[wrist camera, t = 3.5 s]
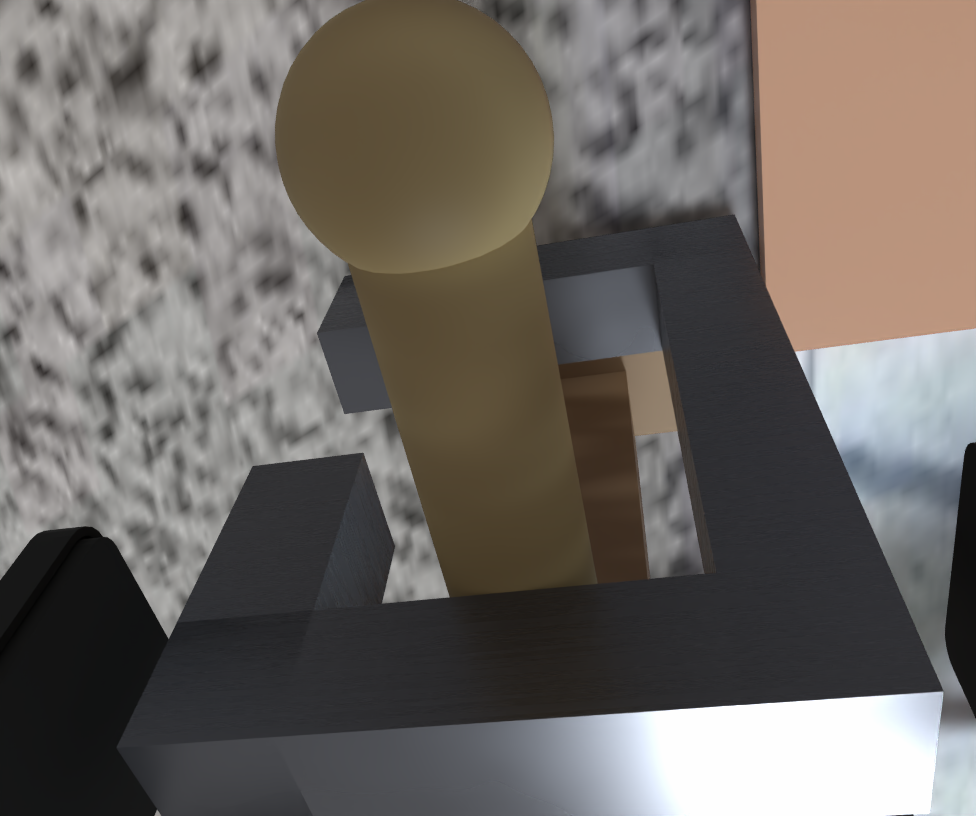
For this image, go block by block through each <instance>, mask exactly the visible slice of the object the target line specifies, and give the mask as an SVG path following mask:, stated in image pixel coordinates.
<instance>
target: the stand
mask: <svg viewBox="0 0 976 816" xmlns="http://www.w3.org/2000/svg"><path fill="white" fill-rule="evenodd" d="M275 145H276V153H277V160H278V166H279V169H280V173H281V177H282V181H283V184H284V186H285V189H286V191H287V194H288V196H289V199H290V201H291V203H292V204H293V206H294V208H295V210H296V212H297V214H298V215H299V216H300V218H301V219H302V221H303V222H304V223H305V225H306V226H307V228H308V229H309V230H310V231H311V232H312V233H313V234H314V235H315V237H316V238H317V239H318V240H319V241H320V242H321V243H322V244H323V245H325V246H326V247H327V248H328V249H329V250H330V251H331V252H332V253H334V254H335V255H337V256H338V257H340V258H341V259H342V260H344V261H345V262H347V263H348V265H349V269H350V272H351V275H352V278H353V282H354V285H355V288H356V292H357V295H358V298H359V301H360V305H361V308H362V311H363V314H364V318H365V321H366V324H367V328H368V331H369V334H370V337H371V341H372V344H373V347H374V351H375V354H376V357H377V360H378V364H379V367H380V370H381V373H382V377H383V380H384V383H385V387H386V390H387V393H388V396H389V400H390V403H391V406H392V409H393V413H394V416H395V419H396V423H397V426H398V429H399V432H400V436H401V439H402V442H403V445H404V449H405V452H406V455H407V459H408V462H409V465H410V468H411V472H412V475H413V478H414V481H415V485H416V488H417V491H418V495H419V498H420V501H421V504H422V508H423V511H424V514H425V517H426V521H427V524H428V527H429V531H430V534H431V537H432V540H433V544H434V547H435V550H436V554H437V557H438V560H439V563H440V567H441V570H442V573H443V576H444V580H445V583H446V586H447V590H448V593H449V596H450V597H460V596H471V595H482V594H493V593H504V592H514V591H525V590H536V589H547V588H558V587H568V586H579V585H590V584H601V583H612V582H622V581H633V580H644V579H650V572H649V562H648V553H647V544H646V535H645V525H644V516H643V507H642V497H641V488H640V479H639V469H638V460H637V451H636V442H635V436H639V435H648V434H656V433H665V432H673V431H678V430H677V425H676V420H675V414H674V409H673V404H672V398H671V393H670V388H669V382H668V377H667V372H666V367H665V361H664V356H663V351H656V352H648V353H641V354H633V355H626V356H618V357H611V358H604V359H596V360H589V361H581V362H574V363H567V364H559V365H558V362H557V357H556V351H555V345H554V340H553V334H552V329H551V323H550V318H549V312H548V307H547V301H546V296H545V290H544V285H543V279H542V273H541V268H540V262H539V257H538V251H537V246H536V240H535V235H534V229H533V224H532V217H533V215H534V214H535V212H536V211H537V208H538V206H539V204H540V202H541V200H542V198H543V196H544V192H545V189H546V186H547V183H548V180H549V176H550V172H551V166H552V160H553V149H554V133H553V122H552V115H551V111H550V106H549V102H548V97H547V94H546V91H545V89H544V86H543V83H542V80H541V78H540V76H539V74H538V72H537V70H536V68H535V67H534V65H533V63H532V61H531V60H530V58H529V57H528V55H527V54H526V53H525V51H524V50H523V48H522V47H521V46H520V44H519V43H518V42H517V41H516V40H515V39H514V38H513V37H512V36H511V35H510V34H509V32H508V31H506V30H505V29H504V28H503V27H502V26H500V25H499V24H498V23H497V22H496V21H494V20H493V19H492V18H490V17H489V16H487V15H485V14H484V13H482V12H481V11H479V10H478V9H476V8H474V7H471V6H469V5H467V4H465V3H463V2H460V1H458V0H365V1H363V2H361V3H358V4H356V5H354V6H352V7H350V8H348V9H345V10H344V11H342V12H341V13H339V14H338V15H336V16H335V17H333V18H332V19H330V20H329V21H328V22H327V23H325V24H324V25H323V26H322V27H321V28H320V29H319V30H318V31H316V32H315V34H314V35H313V36H312V37H311V38H310V40H309V41H308V42H307V43H306V45H305V46H304V47H303V48H302V50H301V51H300V53H299V54H298V56H297V57H296V59H295V61H294V62H293V64H292V66H291V67H290V70H289V72H288V75H287V77H286V79H285V82H284V84H283V88H282V91H281V95H280V99H279V103H278V107H277V114H276V122H275Z"/></svg>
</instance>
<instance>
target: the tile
mask: <svg viewBox="0 0 976 816" xmlns="http://www.w3.org/2000/svg"><path fill="white" fill-rule="evenodd" d="M750 6H751V33H752V60H753V87H754V114H755V142H756V169H757V196H758V223H759V250H760V274H761V276H762V279H763V281H764V283H765V285H766V288H767V290H768V292H769V294H770V297H771V299H772V301H773V304H774V306H775V308H776V310H777V313H778V315H779V317H780V320H781V322H782V324H783V326H784V329H785V331H786V333H787V336H788V338H789V340H790V342H791V345H792V347H793V349H794V351H803V350H811V349H819V348H827V347H834V346H842V345H850V344H858V343H865V342H873V341H881V340H889V339H897V338H904V337H912V336H920V335H928V334H935V333H943V332H951V331H959V330H966V329H974V328H976V0H750Z"/></svg>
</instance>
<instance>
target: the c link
mask: <svg viewBox="0 0 976 816" xmlns="http://www.w3.org/2000/svg"><path fill="white" fill-rule="evenodd" d="M537 251H538V257H539V262H540V268H541V273H542V279H543V285H544V290H545V296H546V301H547V307H548V312H549V318H550V323H551V329H552V334H553V340H554V345H555V351H556V357H557V362H558V365H559V364H567V363H574V362H581V361H589V360H596V359H604V358H611V357H618V356H626V355H633V354H641V353H648V352H656V351H663V356H664V361H665V367H666V372H667V377H668V382H669V388H670V393H671V398H672V404H673V409H674V414H675V420H676V425H677V430H678V436H679V441H680V446H681V451H682V457H683V462H684V467H685V473H686V478H687V483H688V489H689V494H690V499H691V505H692V510H693V515H694V521H695V526H696V531H697V536H698V542H699V547H700V552H701V558H702V563H703V568H704V574H698V575H687V576H676V577H665V578H655V579H644V580H633V581H622V582H612V583H601V584H590V585H579V586H568V587H558V588H547V589H536V590H525V591H514V592H504V593H493V594H482V595H471V596H460V597H450V598H439V599H428V600H417V601H407V602H396V603H385V604H382V600H383V596H384V592H385V587H386V583H387V579H388V574H389V570H390V566H391V562H392V557H393V553H394V549H395V545H394V542H393V539H392V536H391V533H390V530H389V528H388V525H387V522H386V519H385V516H384V513H383V510H382V507H381V504H380V501H379V498H378V495H377V492H376V489H375V486H374V483H373V480H372V477H371V474H370V471H369V468H368V465H367V462H366V459H365V456H364V453H357V454H349V455H341V456H332V457H324V458H316V459H308V460H300V461H292V462H283V463H275V464H267V465H259V466H253V467H252V469H251V471H250V473H249V475H248V477H247V479H246V481H245V483H244V485H243V487H242V489H241V491H240V493H239V495H238V498H237V500H236V502H235V504H234V506H233V508H232V510H231V512H230V514H229V516H228V518H227V520H226V522H225V524H224V526H223V529H222V531H221V533H220V535H219V537H218V539H217V541H216V543H215V545H214V547H213V549H212V551H211V553H210V555H209V557H208V559H207V562H206V564H205V566H204V568H203V570H202V572H201V574H200V576H199V578H198V580H197V582H196V584H195V586H194V588H193V590H192V593H191V595H190V597H189V599H188V601H187V603H186V605H185V607H184V609H183V611H182V613H181V615H180V617H179V619H178V621H177V624H176V626H175V628H174V630H173V632H172V634H171V636H170V638H169V640H168V642H167V644H166V646H165V648H164V650H163V652H162V654H161V657H160V659H159V661H158V663H157V665H156V667H155V669H154V671H153V673H152V675H151V677H150V679H149V681H148V683H147V685H146V688H145V690H144V692H143V694H142V696H141V698H140V700H139V702H138V704H137V706H136V708H135V710H134V712H133V714H132V716H131V719H130V721H129V723H128V725H127V727H126V729H125V731H124V733H123V735H122V737H121V739H120V741H119V743H118V745H117V747H116V748H117V750H118V751H119V753H120V754H121V756H122V757H123V759H124V760H125V762H126V763H127V765H128V766H129V768H130V769H131V771H132V772H133V774H134V775H135V777H136V778H137V780H138V781H139V783H140V784H141V786H142V787H143V789H144V790H145V792H146V793H147V795H148V796H149V798H150V799H151V801H152V802H153V804H154V805H155V807H156V808H157V810H158V811H159V813H160V814H161V816H885V815H906V814H927V813H930V805H931V797H932V788H933V779H934V771H935V762H936V753H937V745H938V736H939V727H940V719H941V710H942V701H943V692H944V691H943V689H942V687H941V684H940V682H939V680H938V678H937V675H936V673H935V671H934V669H933V666H932V664H931V662H930V659H929V657H928V655H927V653H926V650H925V648H924V646H923V643H922V641H921V639H920V637H919V634H918V632H917V630H916V627H915V625H914V623H913V621H912V618H911V616H910V614H909V611H908V609H907V607H906V605H905V602H904V600H903V598H902V596H901V593H900V591H899V589H898V586H897V584H896V582H895V580H894V577H893V575H892V573H891V570H890V568H889V566H888V564H887V561H886V559H885V557H884V554H883V552H882V550H881V548H880V545H879V543H878V541H877V539H876V536H875V534H874V532H873V529H872V527H871V525H870V523H869V520H868V518H867V516H866V513H865V511H864V509H863V507H862V504H861V502H860V500H859V497H858V495H857V493H856V491H855V488H854V486H853V484H852V481H851V479H850V477H849V475H848V472H847V470H846V468H845V466H844V463H843V461H842V459H841V456H840V454H839V452H838V450H837V447H836V445H835V443H834V440H833V438H832V436H831V434H830V431H829V429H828V427H827V424H826V422H825V420H824V418H823V415H822V413H821V411H820V409H819V406H818V404H817V402H816V399H815V397H814V395H813V393H812V390H811V388H810V386H809V383H808V381H807V379H806V377H805V374H804V372H803V370H802V367H801V365H800V363H799V361H798V358H797V356H796V354H795V351H794V349H793V347H792V345H791V342H790V340H789V338H788V336H787V333H786V331H785V329H784V326H783V324H782V322H781V320H780V317H779V315H778V313H777V310H776V308H775V306H774V304H773V301H772V299H771V297H770V294H769V292H768V290H767V288H766V285H765V283H764V281H763V279H762V276H761V274H760V272H759V269H758V267H757V265H756V263H755V260H754V258H753V256H752V253H751V251H750V249H749V247H748V244H747V242H746V240H745V237H744V235H743V233H742V231H741V228H740V226H739V224H738V221H737V219H736V217H735V215H729V216H722V217H716V218H710V219H703V220H697V221H691V222H684V223H678V224H672V225H665V226H659V227H653V228H646V229H640V230H634V231H627V232H621V233H615V234H608V235H602V236H596V237H589V238H583V239H577V240H570V241H564V242H558V243H551V244H545V245H539V246H537ZM317 335H318V338H319V340H320V343H321V346H322V349H323V352H324V355H325V358H326V361H327V364H328V367H329V370H330V373H331V376H332V379H333V382H334V384H335V387H336V390H337V393H338V396H339V399H340V402H341V405H342V408H343V411H344V414H348V413H356V412H363V411H371V410H379V409H386V408H392V406H391V403H390V400H389V396H388V393H387V390H386V387H385V383H384V380H383V377H382V373H381V370H380V367H379V364H378V360H377V357H376V354H375V351H374V347H373V344H372V341H371V337H370V334H369V331H368V328H367V324H366V321H365V318H364V314H363V311H362V308H361V305H360V301H359V298H358V295H357V292H356V288H355V285H354V282H353V278H352V275H349V276H345V277H344V279H343V281H342V283H341V285H340V287H339V289H338V291H337V293H336V295H335V297H334V299H333V301H332V303H331V306H330V308H329V310H328V312H327V314H326V316H325V318H324V320H323V322H322V324H321V326H320V328H319V330H318V332H317Z"/></svg>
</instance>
